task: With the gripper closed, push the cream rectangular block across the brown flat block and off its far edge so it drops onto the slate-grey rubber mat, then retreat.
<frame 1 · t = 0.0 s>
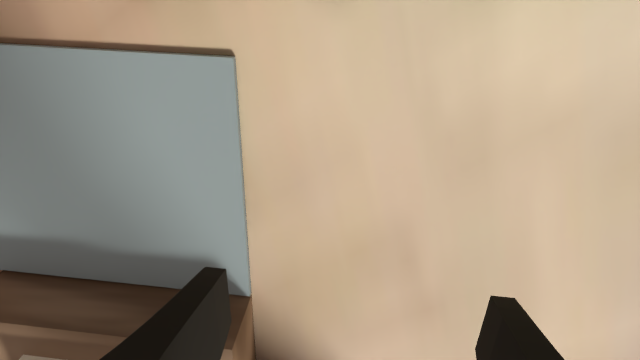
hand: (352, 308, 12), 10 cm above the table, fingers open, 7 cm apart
mat: (98, 179, 23), on the table
brown flat block: (140, 343, 30), on the table
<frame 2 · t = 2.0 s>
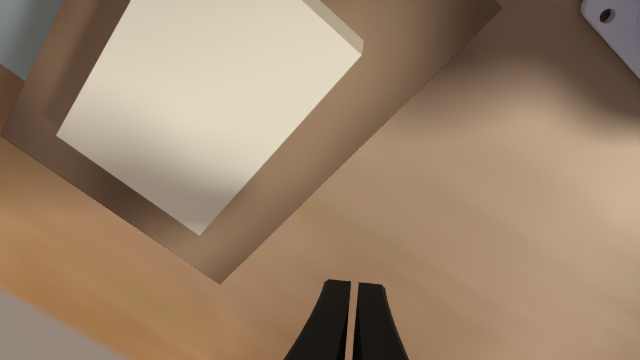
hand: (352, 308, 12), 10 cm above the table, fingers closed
cream rectangular block: (215, 80, 16), point 4 cm above the table, touching brown flat block
brown flat block: (245, 54, 19), on the table
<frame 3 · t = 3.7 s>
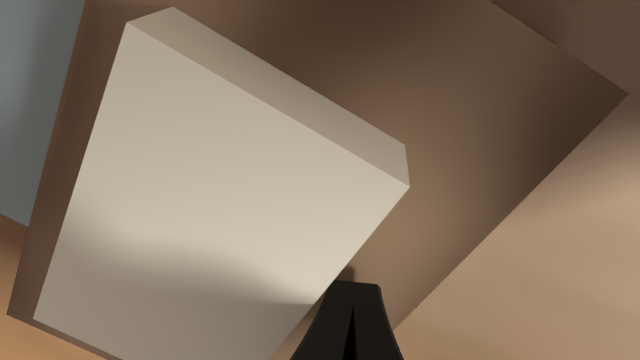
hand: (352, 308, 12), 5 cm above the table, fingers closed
cream rectangular block: (218, 216, 12), point 4 cm above the table, touching brown flat block, gripper
brown flat block: (272, 165, 16), on the table
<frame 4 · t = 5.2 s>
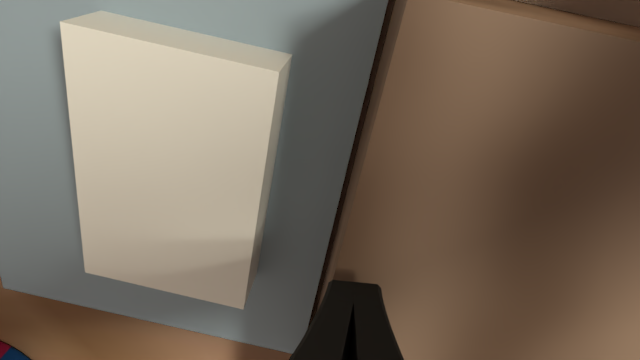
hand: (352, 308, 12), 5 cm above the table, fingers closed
mat: (152, 167, 16), on the table
cream rectangular block: (166, 188, 14), point 2 cm above the table, tilted 180°, touching mat
brown flat block: (487, 242, 16), on the table
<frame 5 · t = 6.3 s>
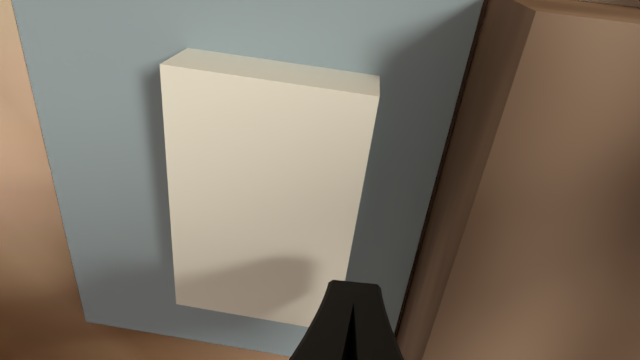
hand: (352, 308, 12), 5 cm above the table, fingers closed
mat: (234, 196, 16), on the table
cream rectangular block: (260, 217, 14), point 2 cm above the table, tilted 180°, touching mat
brown flat block: (579, 248, 16), on the table
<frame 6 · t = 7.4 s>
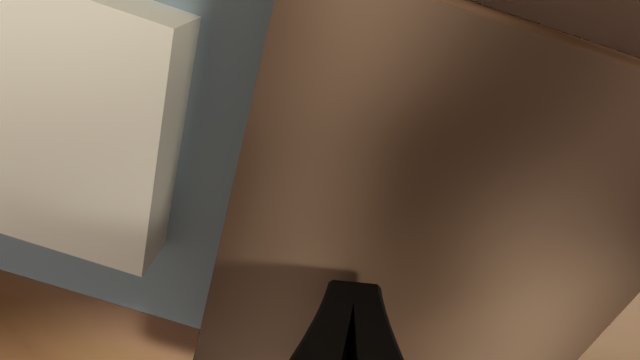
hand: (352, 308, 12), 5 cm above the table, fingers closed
mat: (59, 123, 16), on the table
cream rectangular block: (59, 142, 13), point 2 cm above the table, tilted 180°, touching mat
brown flat block: (394, 229, 16), on the table
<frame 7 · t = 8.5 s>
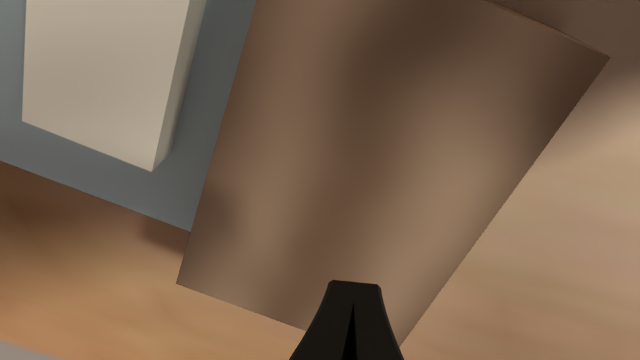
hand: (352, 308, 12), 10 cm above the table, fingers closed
mat: (93, 45, 20), on the table
cream rectangular block: (99, 52, 17), point 2 cm above the table, tilted 180°, touching mat
brown flat block: (354, 150, 21), on the table
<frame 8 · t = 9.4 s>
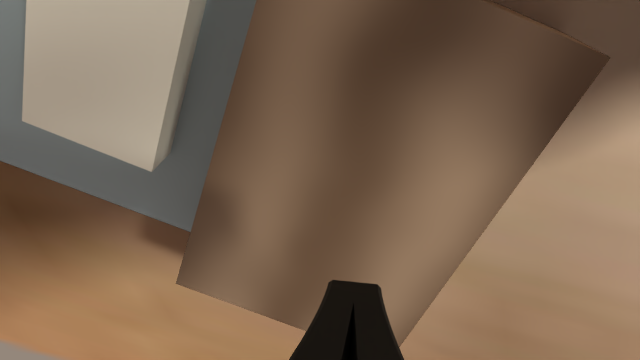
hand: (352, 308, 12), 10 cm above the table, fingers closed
mat: (93, 45, 20), on the table
cream rectangular block: (99, 52, 17), point 2 cm above the table, tilted 180°, touching mat
brown flat block: (354, 150, 21), on the table
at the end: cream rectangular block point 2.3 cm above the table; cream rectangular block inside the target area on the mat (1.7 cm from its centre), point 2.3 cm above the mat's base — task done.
